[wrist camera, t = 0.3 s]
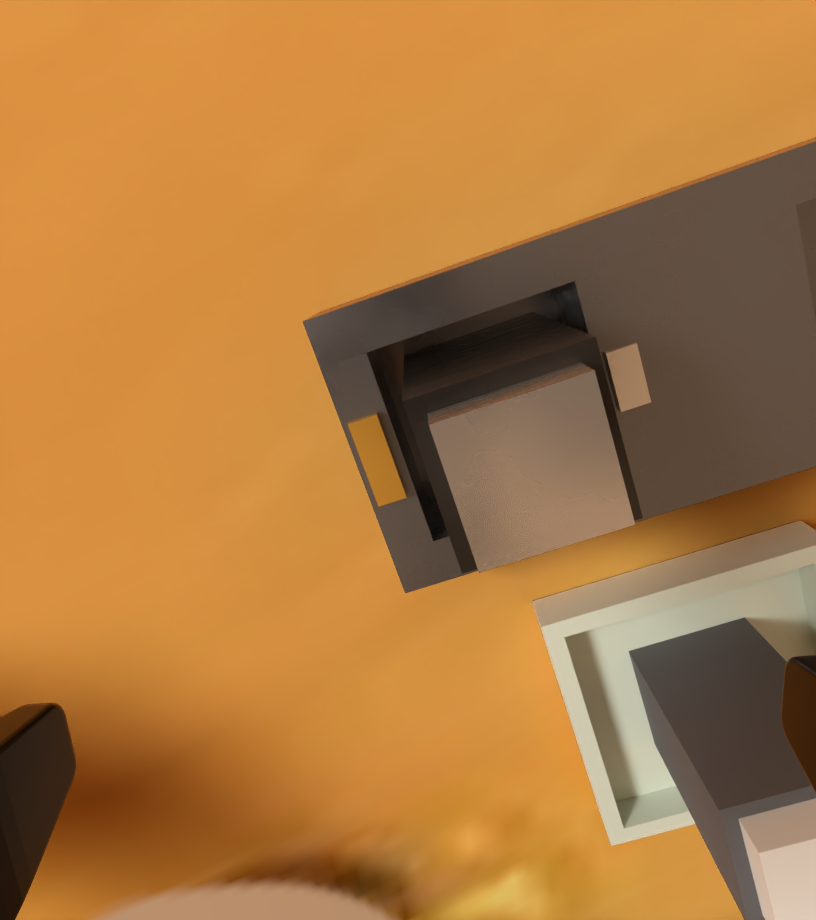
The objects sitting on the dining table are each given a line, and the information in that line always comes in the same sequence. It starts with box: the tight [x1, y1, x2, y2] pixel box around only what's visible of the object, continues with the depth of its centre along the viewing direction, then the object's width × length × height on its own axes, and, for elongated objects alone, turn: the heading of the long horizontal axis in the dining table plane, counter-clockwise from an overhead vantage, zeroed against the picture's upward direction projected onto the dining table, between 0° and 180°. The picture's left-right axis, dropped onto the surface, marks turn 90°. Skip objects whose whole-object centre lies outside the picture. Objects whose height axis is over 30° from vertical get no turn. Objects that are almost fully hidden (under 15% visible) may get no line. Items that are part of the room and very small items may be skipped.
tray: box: [532, 520, 816, 846], centre depth 23 cm, size 9×9×2 cm
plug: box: [629, 617, 816, 920], centre depth 20 cm, size 4×4×8 cm
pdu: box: [303, 137, 816, 593], centre depth 16 cm, size 8×20×8 cm, turn 109°
